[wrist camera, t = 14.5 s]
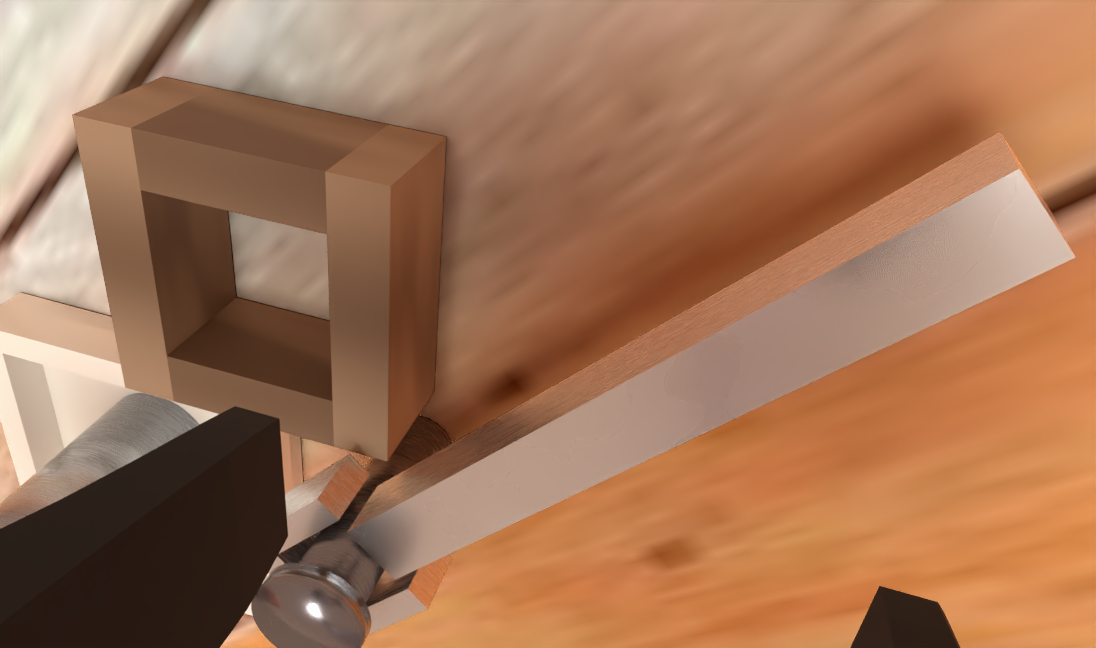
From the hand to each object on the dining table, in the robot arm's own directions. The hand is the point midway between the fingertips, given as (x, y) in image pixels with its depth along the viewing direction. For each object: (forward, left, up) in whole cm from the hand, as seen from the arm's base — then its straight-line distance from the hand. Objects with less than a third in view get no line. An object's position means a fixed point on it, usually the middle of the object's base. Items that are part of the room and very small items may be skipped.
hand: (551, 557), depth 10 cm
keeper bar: (-3, +1, -7) cm, 8 cm away
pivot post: (-9, +6, -10) cm, 15 cm away
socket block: (-3, +9, -10) cm, 14 cm away
